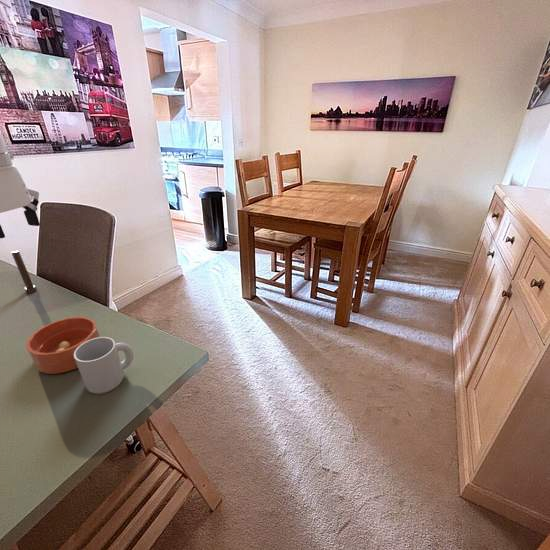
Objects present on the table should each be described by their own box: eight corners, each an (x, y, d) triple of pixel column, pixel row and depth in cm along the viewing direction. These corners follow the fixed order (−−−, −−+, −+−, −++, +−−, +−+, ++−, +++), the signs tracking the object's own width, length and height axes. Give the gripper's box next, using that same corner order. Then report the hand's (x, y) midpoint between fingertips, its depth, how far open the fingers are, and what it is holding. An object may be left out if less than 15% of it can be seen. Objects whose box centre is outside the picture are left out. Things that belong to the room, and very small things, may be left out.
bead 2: (55, 360, 68) (51, 353, 67) (58, 354, 70) (55, 346, 69) (66, 359, 68) (63, 351, 67) (69, 352, 70) (66, 345, 69)
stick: (24, 293, 93) (7, 254, 87) (28, 289, 96) (11, 250, 89) (34, 292, 94) (18, 253, 87) (38, 288, 96) (22, 249, 90)
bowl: (25, 380, 63) (14, 359, 61) (49, 340, 75) (41, 320, 72) (94, 369, 66) (87, 349, 64) (107, 332, 78) (102, 313, 75)
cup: (82, 379, 64) (70, 346, 60) (131, 358, 70) (123, 327, 66) (90, 401, 59) (77, 367, 55) (142, 376, 65) (134, 344, 61)
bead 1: (59, 353, 70) (55, 346, 69) (62, 347, 72) (59, 340, 71) (69, 352, 70) (66, 344, 69) (72, 345, 72) (69, 338, 71)
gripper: (12, 156, 78) (35, 220, 86) (-66, 165, 63) (-31, 241, 71) (37, 158, 77) (57, 222, 85) (-38, 167, 62) (-4, 244, 70)
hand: (17, 231), depth 78 cm, fingers open, 9 cm apart
